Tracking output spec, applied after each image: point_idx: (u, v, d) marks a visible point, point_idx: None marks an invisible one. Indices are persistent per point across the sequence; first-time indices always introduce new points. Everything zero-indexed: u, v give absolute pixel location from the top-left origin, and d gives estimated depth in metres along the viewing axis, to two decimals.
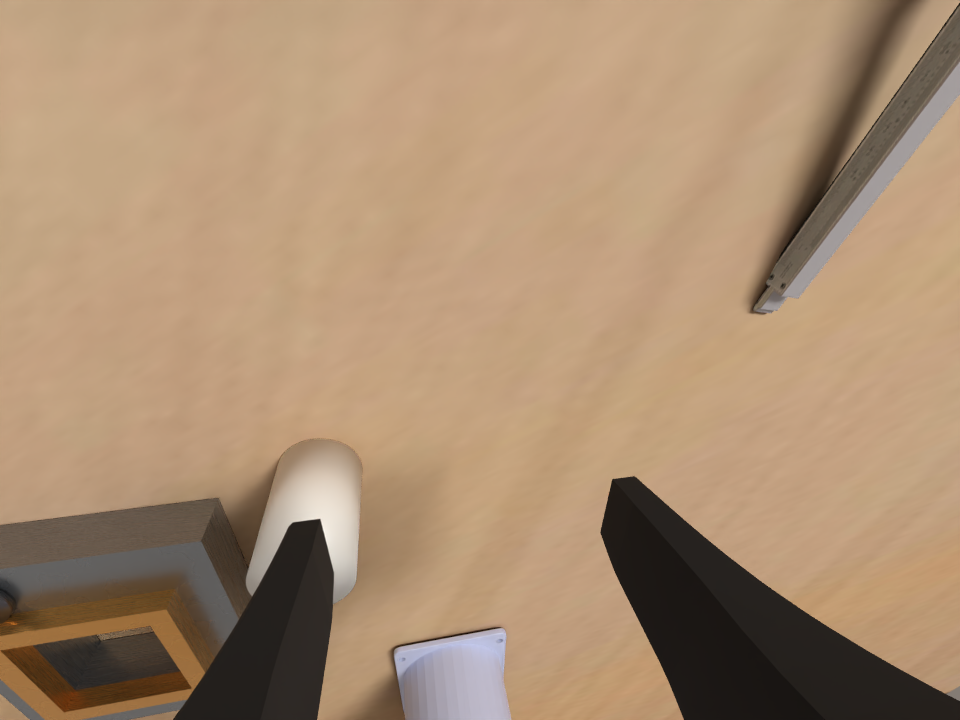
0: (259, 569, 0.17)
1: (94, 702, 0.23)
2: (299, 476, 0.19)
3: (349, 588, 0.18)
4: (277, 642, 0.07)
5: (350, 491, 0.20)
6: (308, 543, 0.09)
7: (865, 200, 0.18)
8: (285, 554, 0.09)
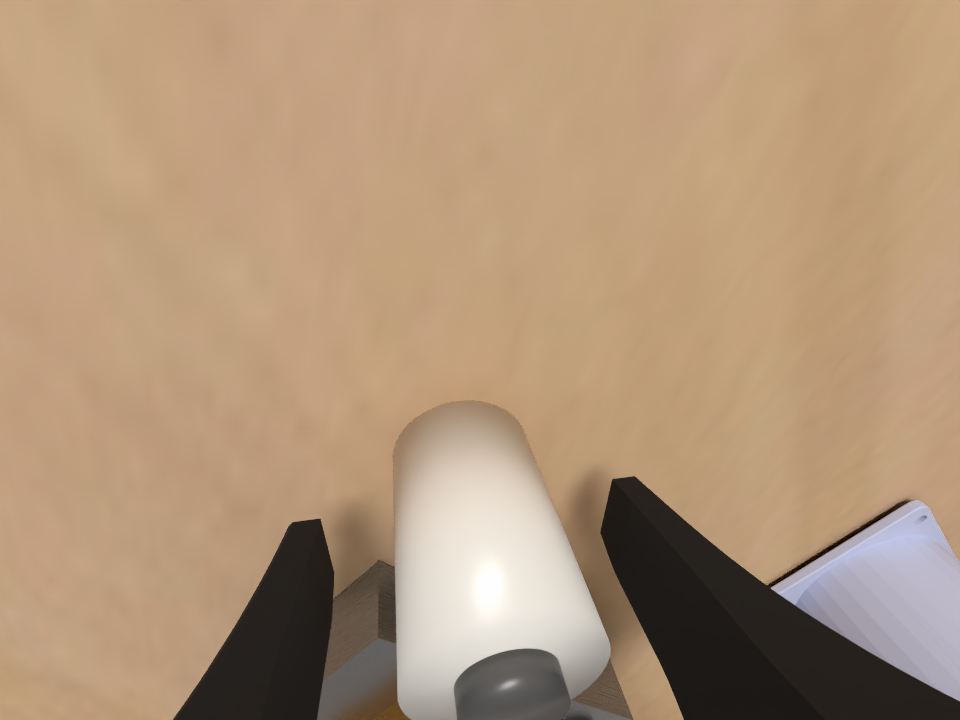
0: (416, 702, 0.08)
1: None
2: (407, 495, 0.10)
3: (604, 647, 0.08)
4: (277, 642, 0.07)
5: (499, 470, 0.10)
6: (308, 543, 0.09)
7: None
8: (285, 554, 0.09)
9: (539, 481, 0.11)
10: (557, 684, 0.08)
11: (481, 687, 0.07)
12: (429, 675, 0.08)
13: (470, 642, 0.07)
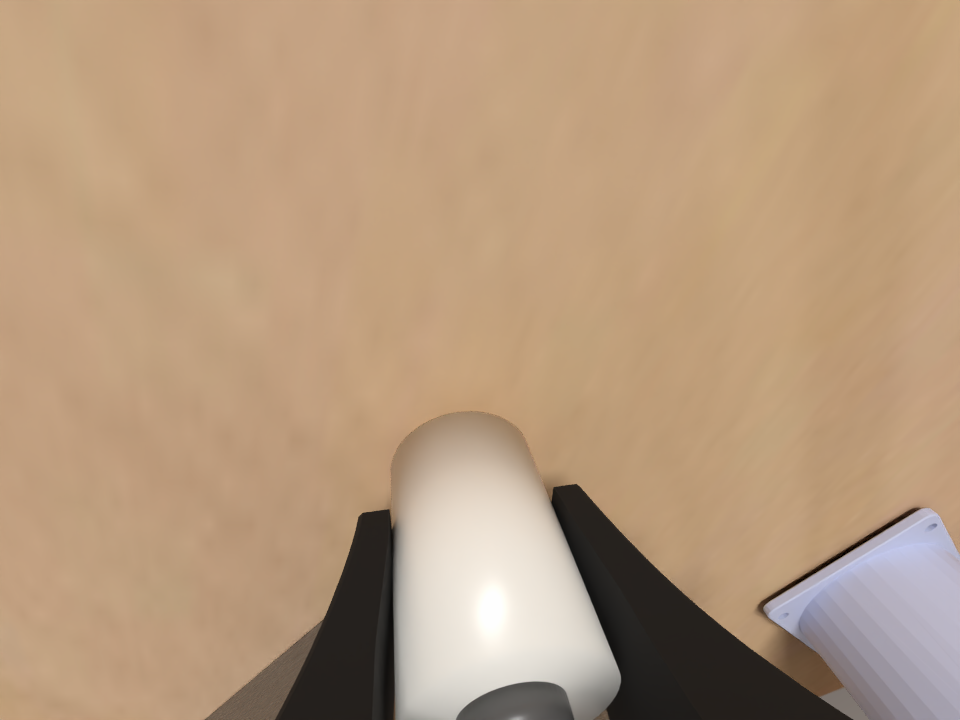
0: None
1: None
2: (405, 512, 0.10)
3: (614, 677, 0.08)
4: (372, 625, 0.08)
5: (502, 487, 0.10)
6: (383, 532, 0.10)
7: None
8: (363, 543, 0.09)
9: (543, 497, 0.10)
10: None
11: None
12: (429, 711, 0.07)
13: (473, 676, 0.07)
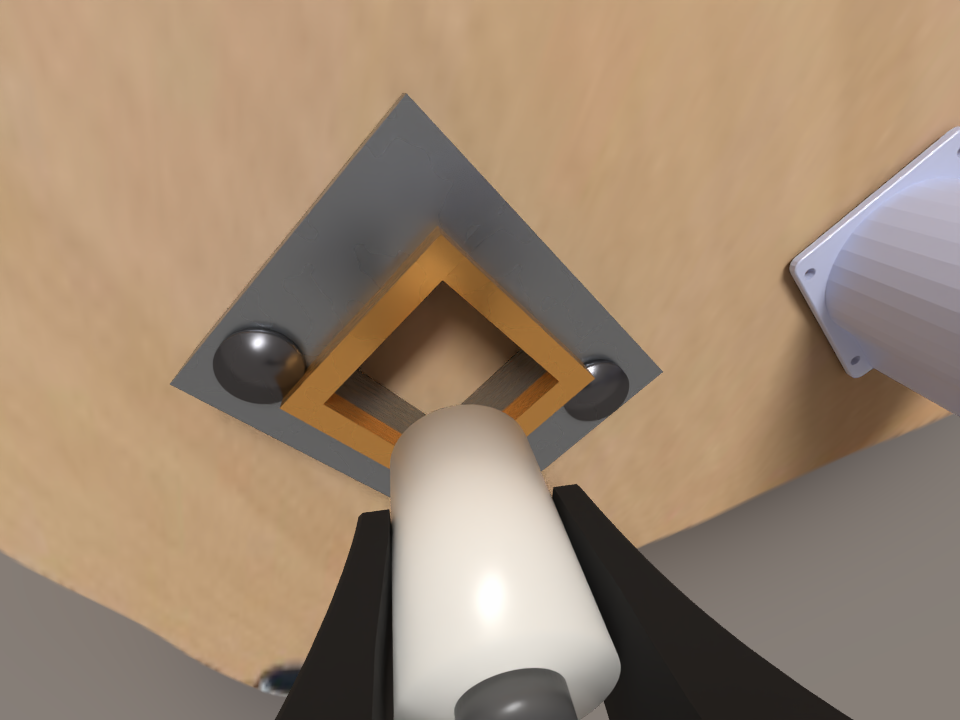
0: None
1: None
2: (406, 501, 0.10)
3: (614, 666, 0.08)
4: (372, 625, 0.08)
5: (504, 477, 0.10)
6: (383, 532, 0.10)
7: None
8: (363, 543, 0.09)
9: (544, 489, 0.10)
10: (565, 706, 0.07)
11: (485, 710, 0.07)
12: (428, 696, 0.07)
13: (475, 660, 0.07)
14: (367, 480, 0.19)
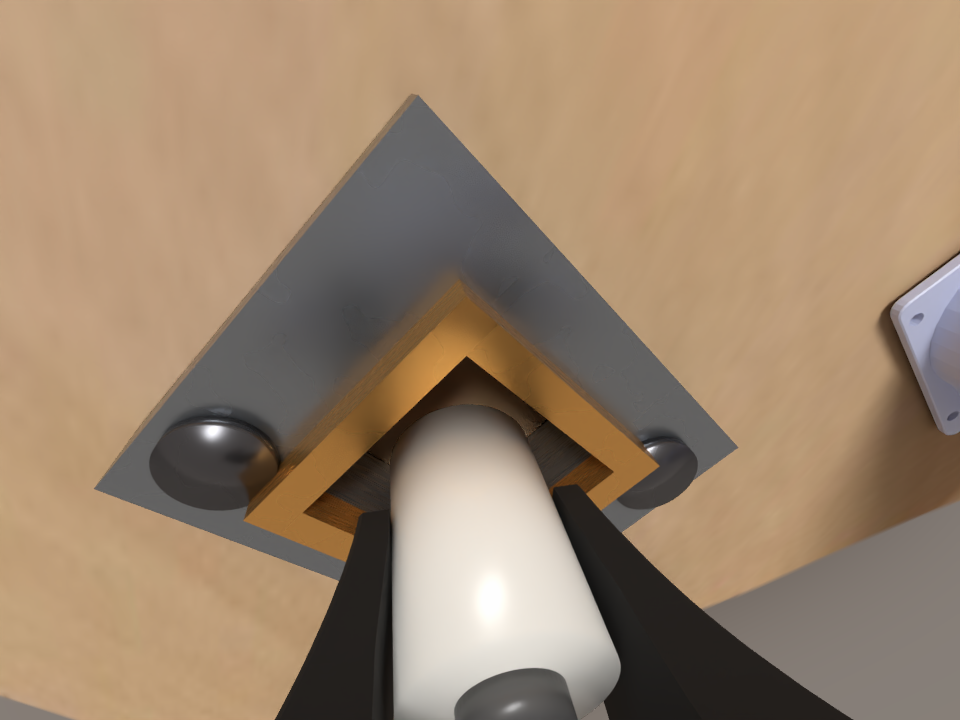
0: None
1: None
2: (406, 501, 0.10)
3: (613, 667, 0.08)
4: (372, 625, 0.08)
5: (504, 477, 0.10)
6: (383, 532, 0.10)
7: None
8: (363, 543, 0.09)
9: (544, 489, 0.10)
10: (565, 707, 0.07)
11: (485, 710, 0.07)
12: (429, 696, 0.07)
13: (474, 661, 0.07)
14: None
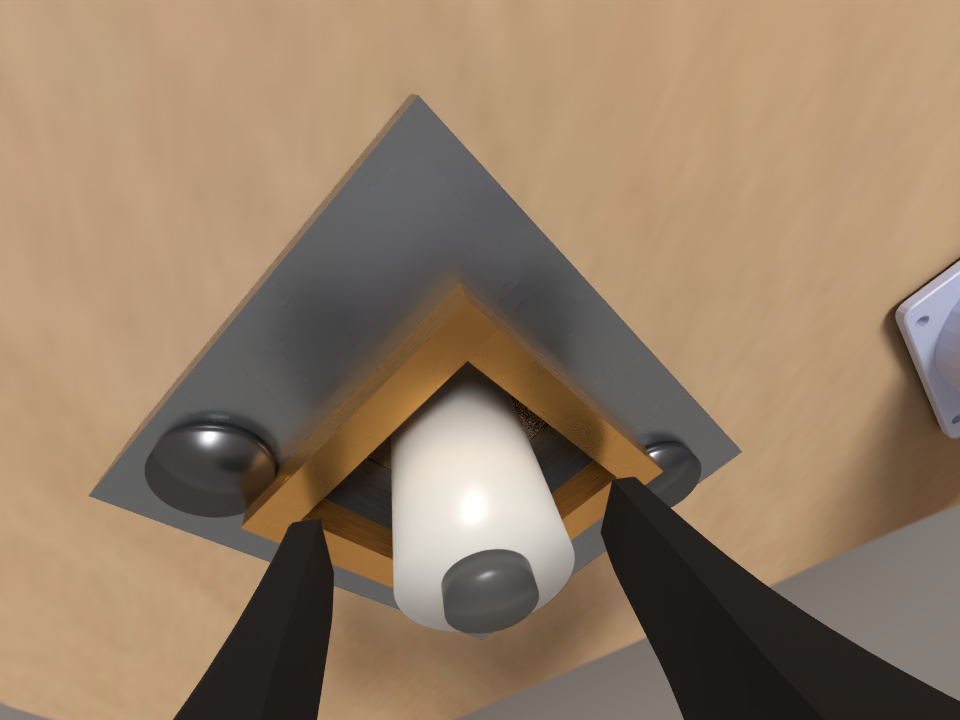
0: (409, 596, 0.10)
1: None
2: (403, 435, 0.12)
3: (568, 554, 0.10)
4: (277, 642, 0.07)
5: (484, 413, 0.12)
6: (308, 543, 0.09)
7: None
8: (285, 554, 0.09)
9: (520, 427, 0.12)
10: (527, 576, 0.09)
11: (464, 576, 0.09)
12: (421, 569, 0.09)
13: (456, 538, 0.09)
14: (363, 590, 0.15)
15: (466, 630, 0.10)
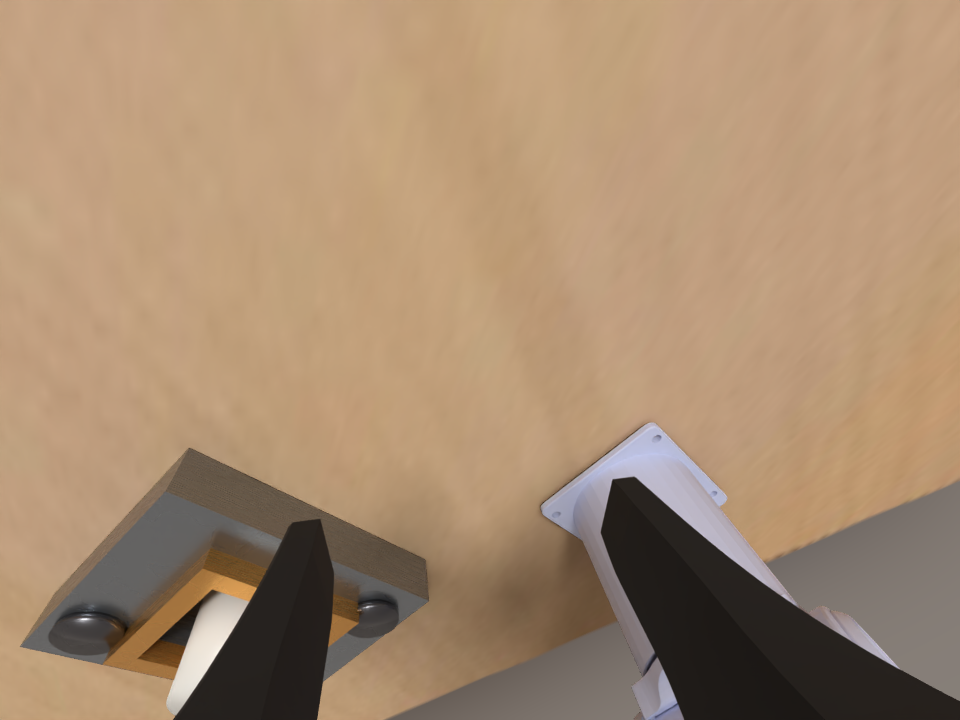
0: (177, 710, 0.19)
1: None
2: (201, 607, 0.21)
3: None
4: (277, 642, 0.07)
5: None
6: (308, 543, 0.09)
7: None
8: (285, 554, 0.09)
9: None
10: None
11: None
12: (179, 699, 0.19)
13: (193, 686, 0.18)
14: None
15: None
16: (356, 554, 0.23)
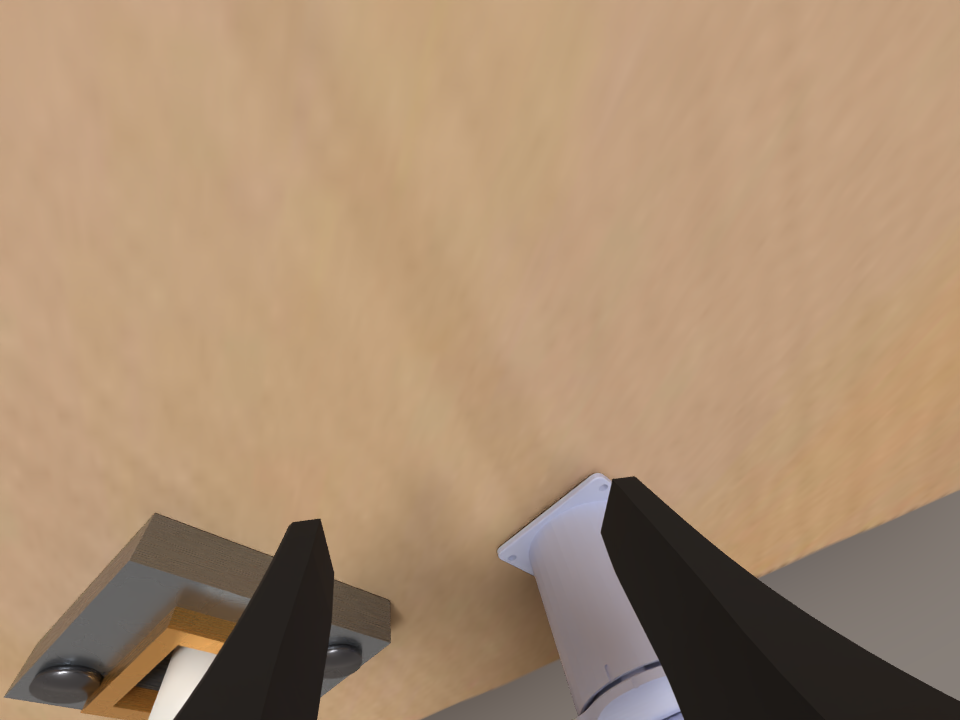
0: None
1: None
2: (172, 656, 0.23)
3: None
4: (277, 642, 0.07)
5: None
6: (308, 543, 0.09)
7: None
8: (285, 554, 0.09)
9: None
10: None
11: None
12: None
13: None
14: None
15: None
16: None
